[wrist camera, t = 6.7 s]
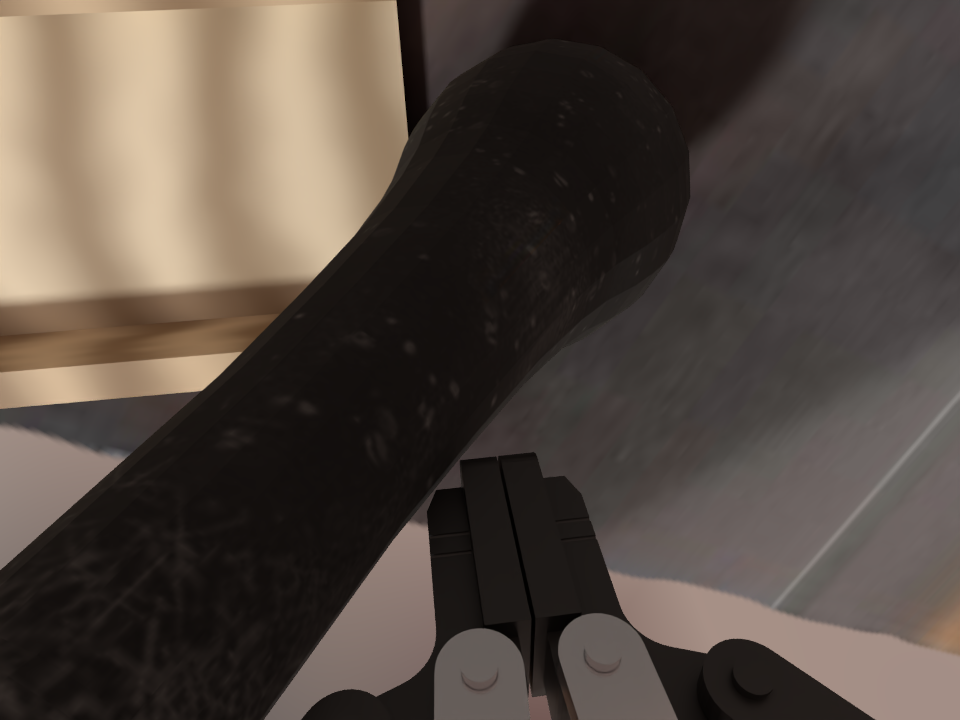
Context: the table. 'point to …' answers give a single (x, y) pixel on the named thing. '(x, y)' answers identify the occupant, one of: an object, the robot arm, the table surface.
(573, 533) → the robot arm
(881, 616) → the table surface
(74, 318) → the trough
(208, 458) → the bottle
